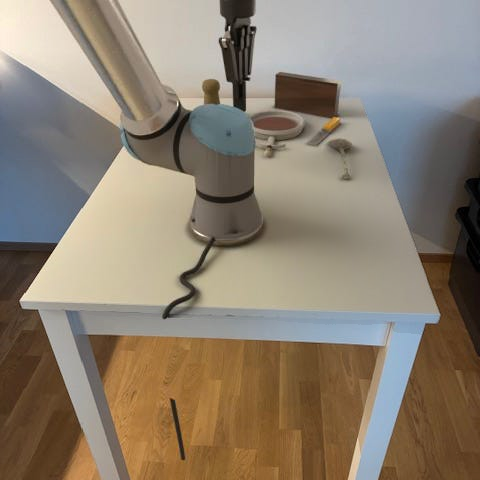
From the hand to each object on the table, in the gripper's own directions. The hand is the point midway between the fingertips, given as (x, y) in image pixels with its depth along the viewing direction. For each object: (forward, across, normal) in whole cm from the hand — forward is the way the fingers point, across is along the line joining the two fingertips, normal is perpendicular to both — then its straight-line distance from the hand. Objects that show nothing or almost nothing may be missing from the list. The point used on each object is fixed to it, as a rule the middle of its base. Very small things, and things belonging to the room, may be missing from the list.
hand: (239, 110), depth 116 cm
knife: (+13, +28, -12) cm, 33 cm away
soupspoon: (+13, +13, -22) cm, 29 cm away
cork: (+13, +23, +22) cm, 35 cm away
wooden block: (+13, +41, 0) cm, 43 cm away
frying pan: (+13, +19, 0) cm, 23 cm away
